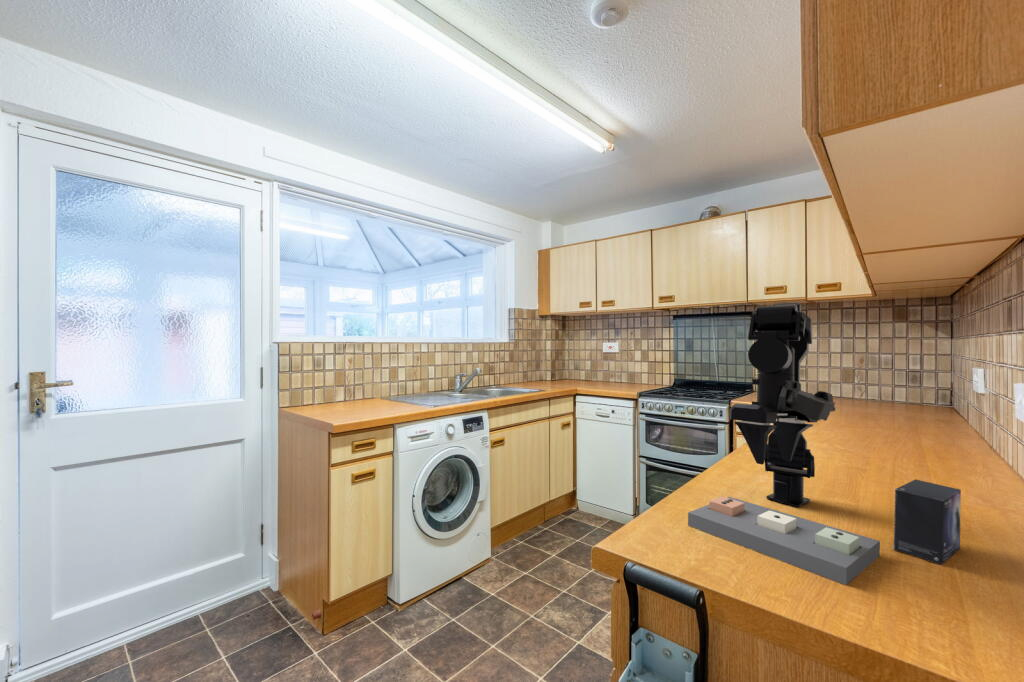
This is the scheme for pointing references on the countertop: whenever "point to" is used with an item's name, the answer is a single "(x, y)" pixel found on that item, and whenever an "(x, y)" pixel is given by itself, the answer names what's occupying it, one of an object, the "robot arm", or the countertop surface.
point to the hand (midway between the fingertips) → (774, 462)
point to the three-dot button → (726, 506)
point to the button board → (787, 541)
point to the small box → (927, 520)
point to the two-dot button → (837, 541)
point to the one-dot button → (777, 522)
